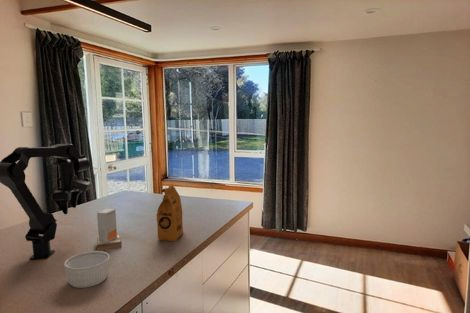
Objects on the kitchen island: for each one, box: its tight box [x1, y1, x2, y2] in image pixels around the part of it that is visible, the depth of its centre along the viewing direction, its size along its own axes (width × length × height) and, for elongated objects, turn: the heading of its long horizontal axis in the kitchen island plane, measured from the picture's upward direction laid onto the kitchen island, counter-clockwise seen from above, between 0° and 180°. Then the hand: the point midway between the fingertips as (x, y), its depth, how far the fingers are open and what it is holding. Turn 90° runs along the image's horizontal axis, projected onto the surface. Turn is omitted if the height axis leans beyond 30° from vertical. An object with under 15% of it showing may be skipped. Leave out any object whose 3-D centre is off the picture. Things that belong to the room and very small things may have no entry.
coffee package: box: [156, 183, 184, 242], centre depth 139 cm, size 10×12×22 cm
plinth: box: [96, 233, 122, 252], centre depth 132 cm, size 9×9×2 cm
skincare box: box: [96, 208, 118, 242], centre depth 131 cm, size 6×4×12 cm
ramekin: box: [63, 250, 111, 289], centre depth 104 cm, size 13×13×7 cm
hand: (70, 210), depth 137 cm, fingers open, 9 cm apart
